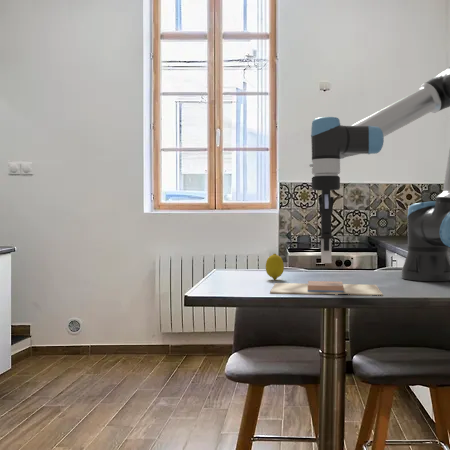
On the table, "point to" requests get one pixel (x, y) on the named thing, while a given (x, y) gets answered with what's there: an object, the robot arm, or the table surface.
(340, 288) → the tile
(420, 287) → the table surface
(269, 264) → the lemon
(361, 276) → the table surface
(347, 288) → the board
